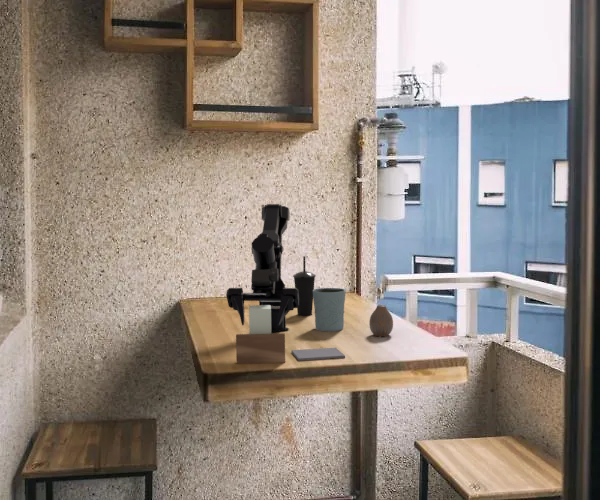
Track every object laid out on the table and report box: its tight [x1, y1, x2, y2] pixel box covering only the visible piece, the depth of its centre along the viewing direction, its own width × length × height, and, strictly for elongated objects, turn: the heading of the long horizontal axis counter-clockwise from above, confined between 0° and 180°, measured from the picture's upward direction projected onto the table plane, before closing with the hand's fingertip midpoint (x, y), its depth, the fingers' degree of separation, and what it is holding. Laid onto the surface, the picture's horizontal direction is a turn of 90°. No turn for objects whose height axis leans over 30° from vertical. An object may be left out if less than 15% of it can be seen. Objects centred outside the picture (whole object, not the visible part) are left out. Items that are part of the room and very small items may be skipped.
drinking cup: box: [292, 255, 316, 317], centre depth 229 cm, size 8×8×20 cm
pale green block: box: [248, 304, 272, 334], centre depth 171 cm, size 6×6×13 cm
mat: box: [291, 347, 346, 362], centre depth 174 cm, size 12×9×1 cm
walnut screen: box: [235, 332, 286, 365], centre depth 167 cm, size 2×12×7 cm, turn 93°
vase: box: [368, 304, 394, 337], centre depth 196 cm, size 7×7×9 cm
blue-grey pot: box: [313, 287, 346, 332], centre depth 206 cm, size 10×10×12 cm
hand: (260, 324), depth 172 cm, fingers open, 9 cm apart
